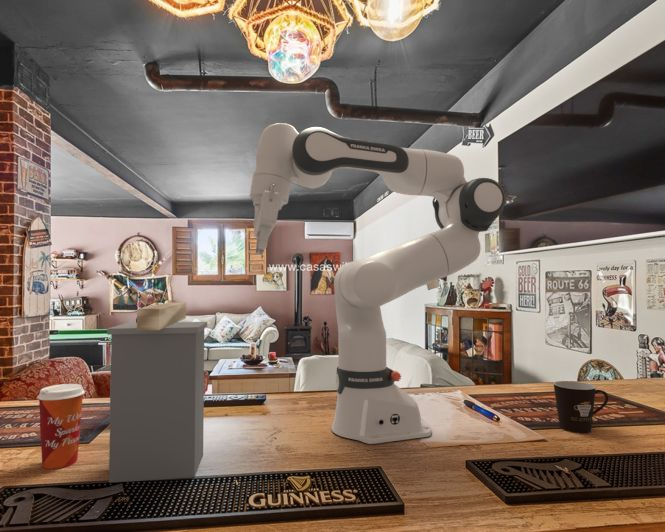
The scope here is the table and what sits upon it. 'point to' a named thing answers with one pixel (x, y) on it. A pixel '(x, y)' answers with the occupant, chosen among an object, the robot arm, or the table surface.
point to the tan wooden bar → (160, 315)
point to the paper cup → (60, 424)
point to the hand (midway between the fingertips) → (260, 251)
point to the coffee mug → (576, 405)
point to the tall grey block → (156, 402)
